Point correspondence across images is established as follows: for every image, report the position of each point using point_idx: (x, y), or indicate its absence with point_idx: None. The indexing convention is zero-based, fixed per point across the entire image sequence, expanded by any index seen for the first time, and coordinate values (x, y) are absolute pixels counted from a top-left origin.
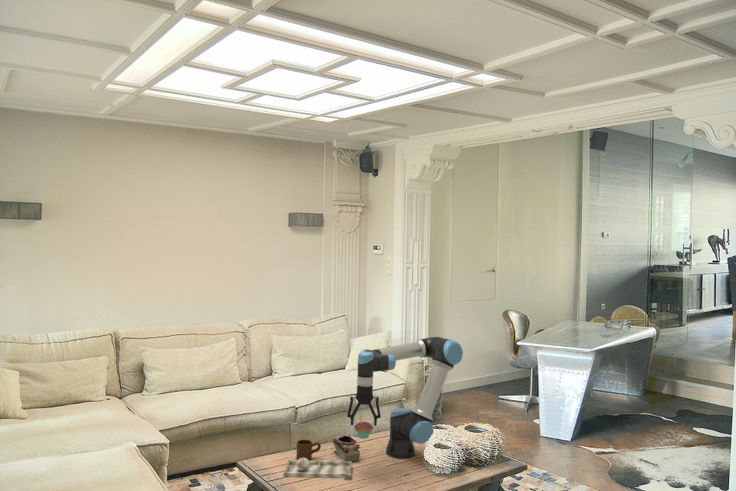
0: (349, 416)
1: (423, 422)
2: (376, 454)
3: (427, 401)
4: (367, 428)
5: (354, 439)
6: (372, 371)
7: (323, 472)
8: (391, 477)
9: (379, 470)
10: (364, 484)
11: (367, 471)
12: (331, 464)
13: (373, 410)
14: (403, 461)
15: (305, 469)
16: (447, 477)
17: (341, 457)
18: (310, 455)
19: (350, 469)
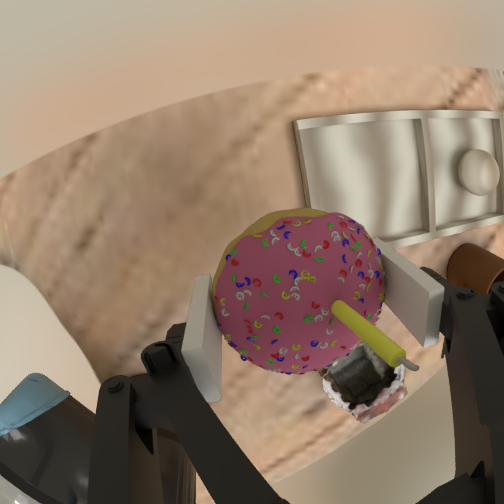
0: (494, 289)
1: None
2: (237, 387)
3: None
4: (252, 239)
5: (332, 389)
6: None
7: (405, 160)
8: (130, 192)
9: (192, 250)
10: (226, 89)
11: (239, 227)
12: (389, 237)
13: (189, 452)
14: (130, 353)
15: (462, 156)
16: None
17: None
18: (461, 267)
19: (309, 176)
